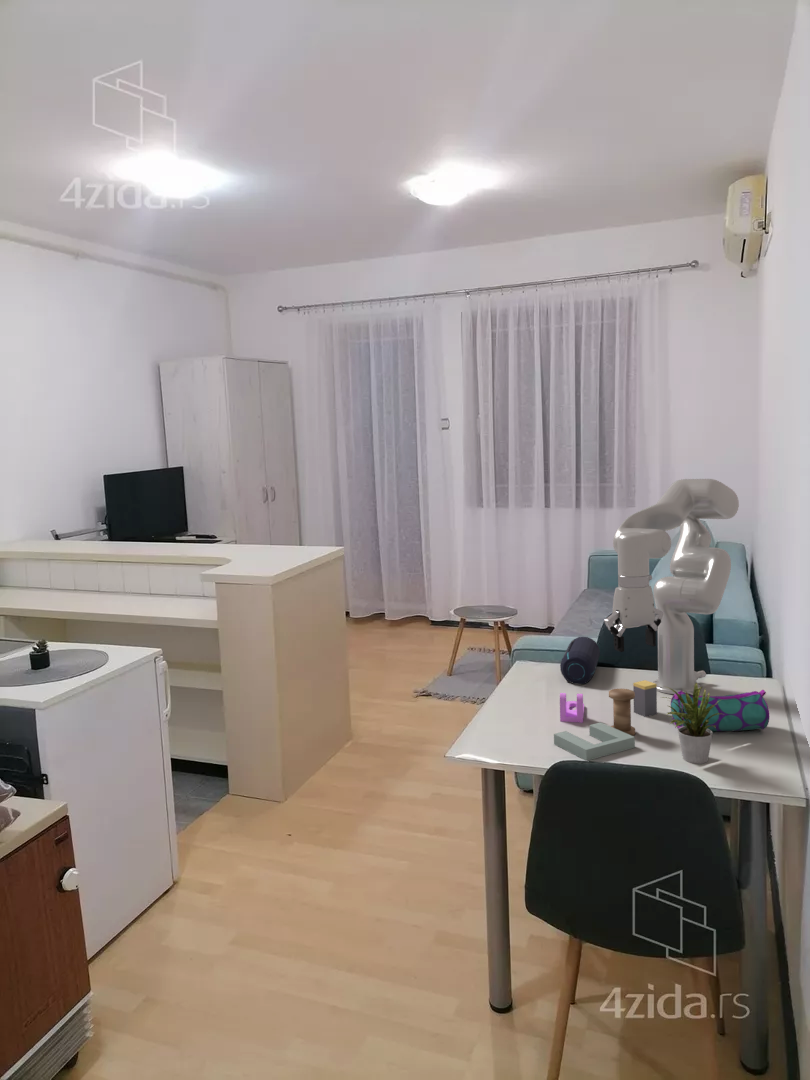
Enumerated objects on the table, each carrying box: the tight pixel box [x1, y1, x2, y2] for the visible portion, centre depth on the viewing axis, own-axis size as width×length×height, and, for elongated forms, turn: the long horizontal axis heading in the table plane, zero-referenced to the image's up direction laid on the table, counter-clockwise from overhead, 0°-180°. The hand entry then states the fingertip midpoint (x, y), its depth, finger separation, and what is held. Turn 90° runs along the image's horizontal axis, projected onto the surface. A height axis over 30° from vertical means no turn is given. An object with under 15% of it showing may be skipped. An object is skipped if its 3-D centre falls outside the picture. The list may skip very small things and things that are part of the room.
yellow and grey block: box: [632, 679, 658, 718], centre depth 195 cm, size 4×4×8 cm
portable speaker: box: [560, 636, 601, 685], centre depth 231 cm, size 25×10×10 cm, turn 161°
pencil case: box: [670, 689, 770, 732], centre depth 182 cm, size 21×9×10 cm, turn 84°
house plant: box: [661, 682, 724, 765], centre depth 167 cm, size 14×14×16 cm
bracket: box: [559, 692, 585, 723], centre depth 198 cm, size 13×6×7 cm, turn 165°
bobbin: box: [608, 688, 636, 737], centre depth 183 cm, size 6×6×10 cm
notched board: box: [553, 721, 636, 761], centre depth 176 cm, size 14×12×2 cm
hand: (635, 647), depth 194 cm, fingers open, 9 cm apart
